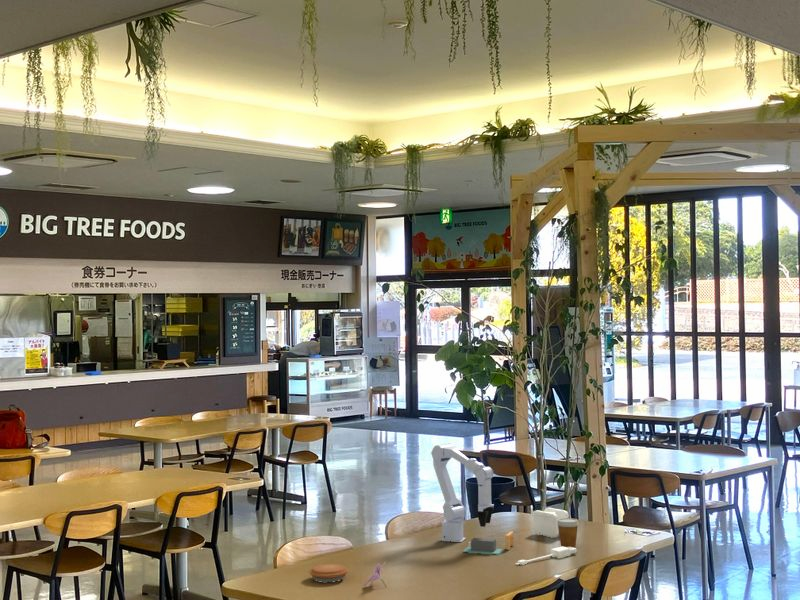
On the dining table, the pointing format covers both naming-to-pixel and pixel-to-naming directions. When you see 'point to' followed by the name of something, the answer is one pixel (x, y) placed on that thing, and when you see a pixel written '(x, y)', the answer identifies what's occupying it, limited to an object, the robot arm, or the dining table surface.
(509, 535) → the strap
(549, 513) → the cable organizer
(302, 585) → the dining table surface
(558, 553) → the charging cable
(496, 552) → the mat
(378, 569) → the lily
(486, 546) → the grey box
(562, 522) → the disposable coffee cup
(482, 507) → the robot arm
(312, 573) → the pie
